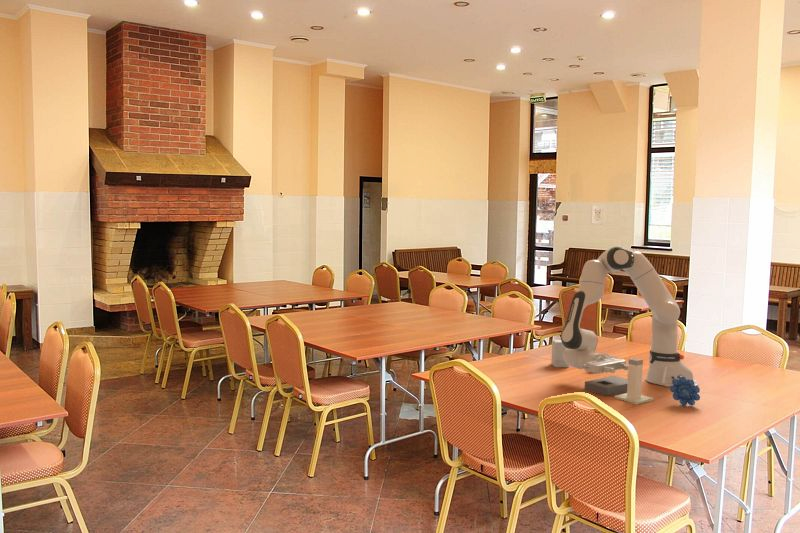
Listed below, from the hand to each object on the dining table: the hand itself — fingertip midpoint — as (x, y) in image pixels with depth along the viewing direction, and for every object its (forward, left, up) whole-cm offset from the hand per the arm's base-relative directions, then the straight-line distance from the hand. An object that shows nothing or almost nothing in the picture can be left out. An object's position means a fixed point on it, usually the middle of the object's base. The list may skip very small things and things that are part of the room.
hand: (621, 369), depth 289 cm
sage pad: (-5, +5, -11) cm, 13 cm away
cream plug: (-5, +5, -10) cm, 12 cm away
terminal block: (+2, -9, -11) cm, 14 cm away
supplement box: (+18, -50, -11) cm, 55 cm away
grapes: (-23, +12, -11) cm, 28 cm away
